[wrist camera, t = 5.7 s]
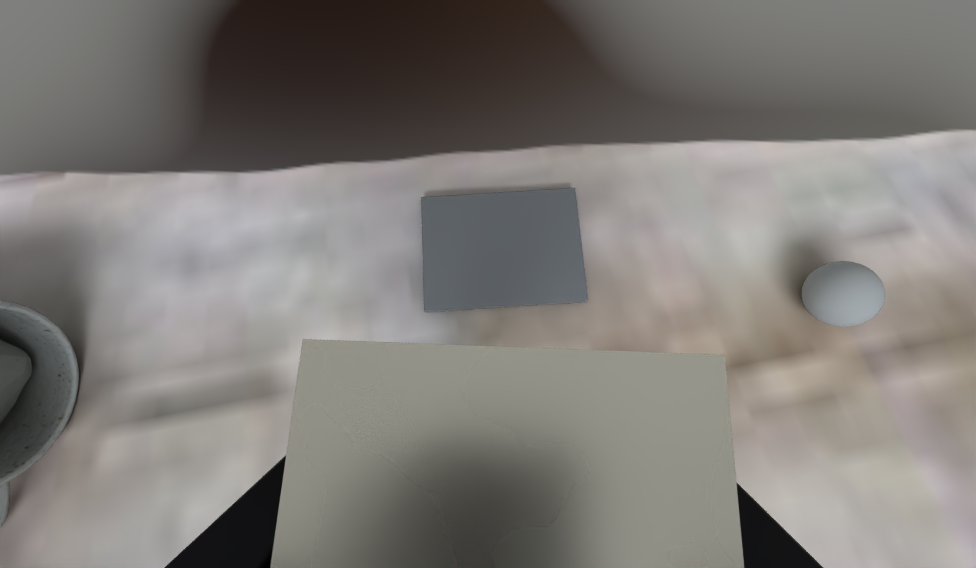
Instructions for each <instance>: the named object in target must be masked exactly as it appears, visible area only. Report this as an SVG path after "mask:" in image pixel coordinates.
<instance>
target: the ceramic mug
mask: <svg viewBox="0 0 976 568" xmlns="http://www.w3.org/2000/svg"><path fill="white" fill-rule="evenodd" d="M78 385H79V369H78V363H77V358H76V355H75V352H74V350H73V348H72V346H71V343H70V341H69V339H68V338H67V337H66V335H65V334H64V333H63V331H62V330H61V329H60V328H59V327H58V326H57V325H56V324H54V323H53V322H52V321H51V320H49V319H48V318H46V317H45V316H44V315H42V314H40V313H38V312H36V311H34V310H32V309H30V308H28V307H25V306H22V305H19V304H16V303H12V302H7V301H1V300H0V526H1V525H2V523H3V522H4V520H5V518H6V517H7V513H8V509H9V499H10V480H11V479H13V478H15V477H17V476H18V475H20V474H21V473H23V472H24V471H26V470H27V469H29V468H30V467H31V466H32V465H33V464H34V463H36V462H37V461H38V460H39V459H40V458H41V457H42V456H44V454H45V453H46V452H47V451H48V450H49V449H50V448H51V446H52V445H53V444H54V442H55V441H56V440H57V439H58V437H59V436H60V435H61V433H62V432H63V430H64V428H65V426H66V424H67V422H68V420H69V418H70V416H71V414H72V411H73V408H74V405H75V401H76V398H77V392H78Z"/></svg>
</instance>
